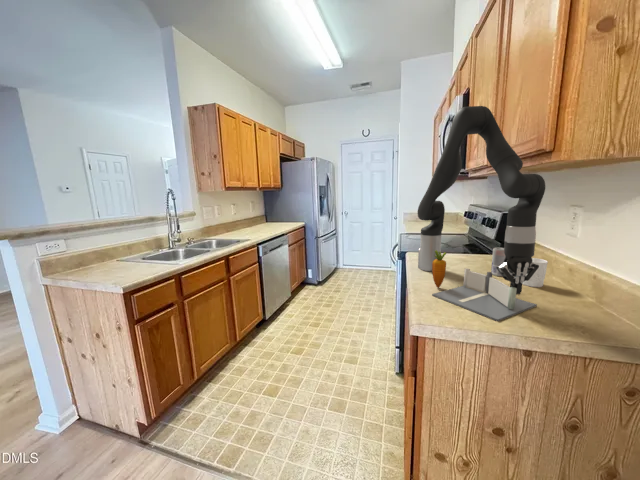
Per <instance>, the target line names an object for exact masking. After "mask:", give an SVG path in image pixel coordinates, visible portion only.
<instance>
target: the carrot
mask: <svg viewBox="0 0 640 480" xmlns="http://www.w3.org/2000/svg"><path fill="white" fill-rule="evenodd" d="M435 253H436V255H437V256H435V257H436V258H437V259H435V260H434V261H433V263H432V271H431V272H432V279H433V282H434V285H435V286H436V288H437V289H439V288H440V287H441V286H442V284H443V282H444V280H445V275H446V269H447V261H446V260H444V257H445V256H446V254H447V252H445V251H444V252H443V254H442V252H439V254H438V251H437V250H436V251H435Z"/></svg>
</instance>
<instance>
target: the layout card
mask: <svg viewBox="0 0 640 480" xmlns="http://www.w3.org/2000/svg"><path fill="white" fill-rule="evenodd" d="M485 292H486V291H485ZM485 292H484V291H481V290H477V289H474V288H471V287H464V286H463V285H460V286H456V287H454V288H448V289H446V290H443V291H438V292H434V293H432V294H431V295H432V297H435V298H437V299H439V300H442V301H445V302H448V303H450V304H452V305H455V306H458V307H460V308H463V309H466V310H468V311H470V312H472V313H475V314H478V315H480V316H483V317H486V318H488V319H491V320H493V321H495V322H500V321H502V320H503V321H504V320H505V319H507V318H510V317H512V316H515V315H518V314H520V313H523V312H526V311H528V310H531V309H533V308H536V307H537V306H538V304H536V303H533V302H530V301H526V300H522V299H521V298H517V297H516V300H515V309H509V308H508V307H507V306H505V305H504V304H502V303H501V302H500V301H498V300H497V299H495V298H494V297H492V296H491V295H490V294H487V293H485Z"/></svg>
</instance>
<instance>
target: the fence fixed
mask: <svg viewBox="0 0 640 480" xmlns="http://www.w3.org/2000/svg"><path fill="white" fill-rule="evenodd" d="M463 272H464V274H463V275H464V276H463V285H462V286H464V287H471V288H474V289H477V290H481V291H484V292H485V291H486V292H485V293H487V294H488V290H489V278H490V277H493V275H492V272H491V271H486V274H484V273H482V272H481V273H480V272H476V271H474V270H473V271H472V270H471V269H470V268H467V267H466V268H464V271H463Z"/></svg>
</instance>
